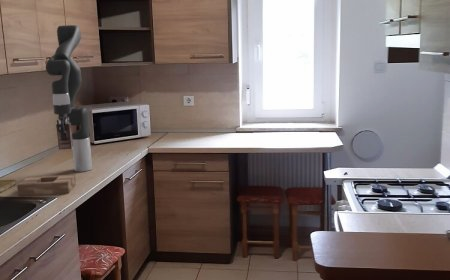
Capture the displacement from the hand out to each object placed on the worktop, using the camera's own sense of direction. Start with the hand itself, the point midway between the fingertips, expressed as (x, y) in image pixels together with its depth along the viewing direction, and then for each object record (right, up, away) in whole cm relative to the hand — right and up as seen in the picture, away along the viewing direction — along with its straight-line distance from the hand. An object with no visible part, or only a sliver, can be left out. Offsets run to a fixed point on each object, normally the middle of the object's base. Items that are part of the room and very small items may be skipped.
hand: (65, 139), depth 226 cm
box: (0, -5, +1) cm, 5 cm away
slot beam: (-6, -23, -5) cm, 25 cm away
